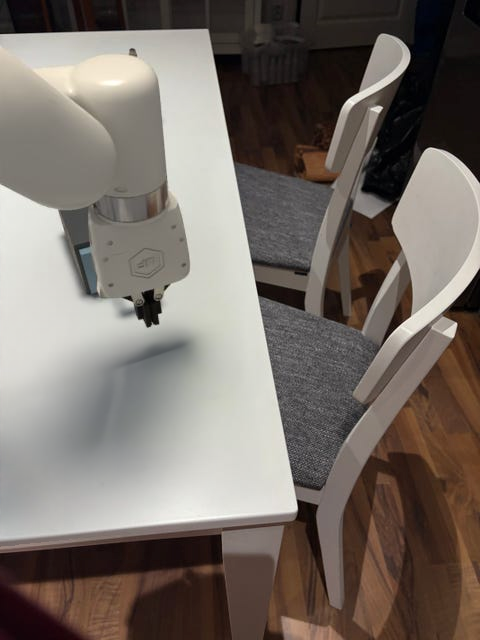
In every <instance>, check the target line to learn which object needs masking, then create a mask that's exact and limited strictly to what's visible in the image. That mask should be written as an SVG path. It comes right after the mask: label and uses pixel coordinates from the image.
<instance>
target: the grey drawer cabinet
mask: <svg viewBox="0 0 480 640" xmlns="http://www.w3.org/2000/svg"><path fill="white" fill-rule="evenodd" d="M57 211H58V215H59V218H60V221H61V224H62V225H61V226H62V228H63V231H64V235H65V237H66V241H67V243H68V247H69V249H70V251H71V253H72V257H73V259H74V262H75V266H76V268H77V272H78V273H79V276H80V279H81V282H82V284H83V288H84V290H85V292H86V294H92V293H91V290H90V287H89V284H88V280H87V277H86V273H85V269H84V266H83V262H82V259H81V255H80V252H79V250H80V248H83V247H87V246H90V240H89V229H88V212H89V206H87V207H84V208H81V209H75V210H58V209H57Z"/></svg>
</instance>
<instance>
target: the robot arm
mask: <svg viewBox="0 0 480 640" xmlns="http://www.w3.org/2000/svg"><path fill="white" fill-rule="evenodd" d="M166 158H167V157H166V148H165V136H164V124H163V114H162V102H161V92H160V84H159V79H158V75H157V72H156V71H155V70H154V68H153V66H151V64H149V62H147V61H146V60H144V59H142V58H140V57H138V56H137V57H135V56H130V55H129V54H122V53H107V54H99V55H95V56H92V57H88V58H86V59H84V60H81V61H80V62H79V63H76V64H71V65H61V66H49V67H48V66H47V67H29V66H27V64H25V63H23V61H22V60H20V59H19V58H17V56H15V55H14V54H12V53H11V52H10V51H9V50H7V49H6V48H5V47H4V46H3V45H1V44H0V185H1V186H3V187H5V188H6V189H8V190H11V191H12V192H14V193H16V194H18V195H20V196H22V197H24V198H25V199H27V200H30V201H31V202H32V201H33V202H34V203H36V204H38V205H40V206H42V207H46V208H49V209H52V210H53V209H54V210H57V211H58V210H75V209H81V208H84V207H87V206H89V212H88V229H89V240H90V247H91V254H92V260H93V265H94V269H95V272H96V274H97V277H98V281H97V291H98V292H97V294H98V297H99V298H100V299H123V300H126V301H129V302H131V303H133V308H134V313H135V316H136V318H137V320H138V321H141V320H142V321H143V323H144V326H145V327H146V329H148V328H151V327H152V326H158V325H160V318H159V317H160V316H159V315H161V314H163V309H162V301H161V300H163V298H164V295H165V292H166V290H167V289H168V288H169V287H170V286H171V284H174V283H178V282H180V281H182V280H184V279H186V278H187V277H188V276H189V274H190V272H191V259H190V252H189V245H188V239H187V233H186V230H185V223H184V219H183V215H182V211H181V207H180V205H179V202H178V199H177V198H176V196H175V195H174V194H173V193H172V192H171V191H170V190H169V181H168V171H167V169H168V168H167V161H166V160H167V159H166Z"/></svg>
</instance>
